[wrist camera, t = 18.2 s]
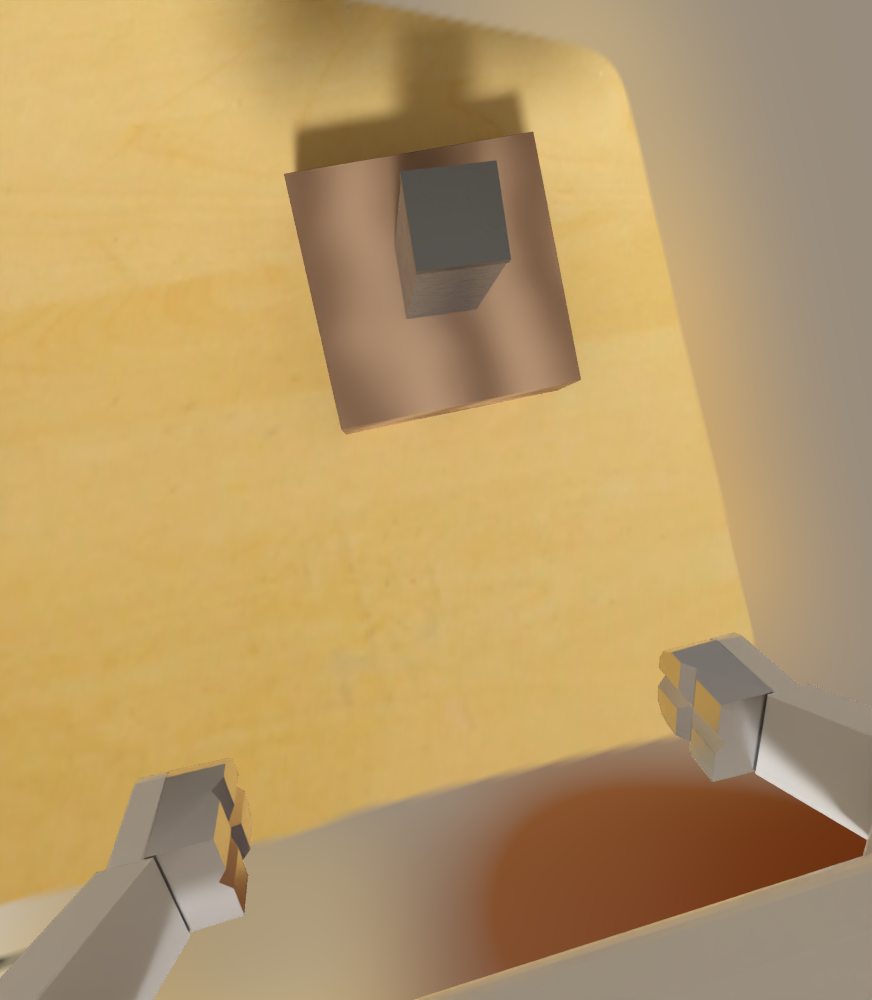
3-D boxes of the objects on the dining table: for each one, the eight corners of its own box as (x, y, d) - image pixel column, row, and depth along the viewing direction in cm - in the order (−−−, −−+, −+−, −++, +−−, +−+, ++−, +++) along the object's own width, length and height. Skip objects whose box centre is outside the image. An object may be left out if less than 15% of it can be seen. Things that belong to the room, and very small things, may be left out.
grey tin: (405, 319, 32) (416, 271, 24) (393, 244, 32) (400, 171, 24) (477, 310, 32) (511, 259, 24) (466, 236, 32) (496, 160, 24)
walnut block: (346, 434, 37) (341, 429, 32) (297, 214, 36) (283, 173, 31) (554, 391, 38) (580, 379, 33) (512, 176, 37) (533, 131, 32)
